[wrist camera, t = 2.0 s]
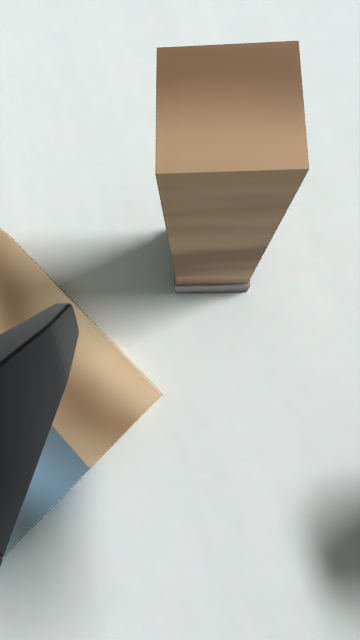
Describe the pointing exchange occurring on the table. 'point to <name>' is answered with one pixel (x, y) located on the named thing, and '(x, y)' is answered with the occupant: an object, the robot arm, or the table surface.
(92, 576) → the table surface
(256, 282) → the table surface
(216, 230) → the wooden pillar on base
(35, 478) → the board
